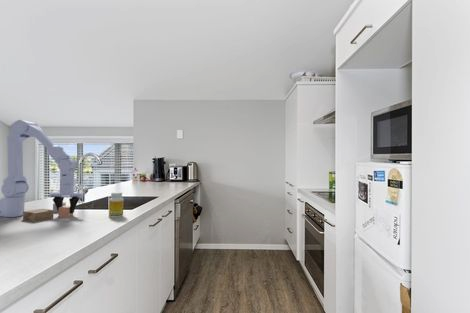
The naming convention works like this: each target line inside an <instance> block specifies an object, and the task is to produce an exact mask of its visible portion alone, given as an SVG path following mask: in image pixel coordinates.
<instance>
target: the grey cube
mask: <svg viewBox="0 0 470 313" xmlns="http://www.w3.org/2000/svg"><path fill="white" fill-rule="evenodd" d="M66 203H67V202H66V201H63V204H62V206H67V205H66ZM52 210H54V211H53V214H55V213H58V211H57V207H56V205H55V203H54V202H53V204H52Z"/></svg>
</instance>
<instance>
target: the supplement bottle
mask: <svg viewBox="0 0 470 313" xmlns="http://www.w3.org/2000/svg"><path fill="white" fill-rule="evenodd" d="M110 195H111V196H110V198H109V200H108V202H109V203H108V217H109V218H114V219H115V218H122V217H124V202H125V200H124V197H123V192H121V191H115V192H113V191H112V192H111V194H110Z"/></svg>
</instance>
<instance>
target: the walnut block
mask: <svg viewBox="0 0 470 313" xmlns="http://www.w3.org/2000/svg"><path fill="white" fill-rule="evenodd" d="M53 211H54V210H53V209H48V208H36V209H29V210H24V211H23V215H22V220H23V221H28V222H32V221H33V223H35V222H36V221H37V222H41V221H42V222H43V221H47V220H52V219H54V213H53Z"/></svg>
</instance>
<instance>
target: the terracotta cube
mask: <svg viewBox="0 0 470 313" xmlns="http://www.w3.org/2000/svg"><path fill="white" fill-rule="evenodd" d="M57 215H58V218H70V217H73V216H74V213H70V205H66V206H62V207H59V211H58V214H57Z"/></svg>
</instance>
